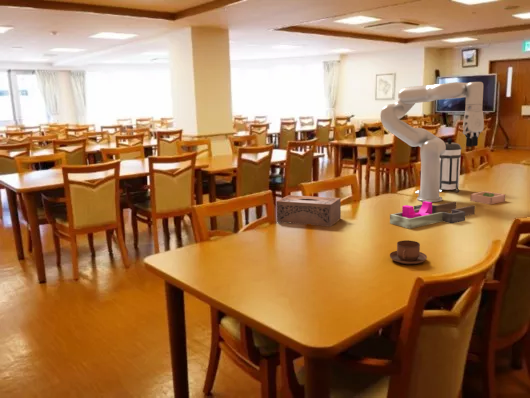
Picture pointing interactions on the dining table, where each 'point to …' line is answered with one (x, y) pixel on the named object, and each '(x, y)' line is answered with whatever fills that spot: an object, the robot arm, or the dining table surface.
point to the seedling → (488, 194)
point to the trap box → (434, 215)
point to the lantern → (450, 167)
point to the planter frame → (487, 198)
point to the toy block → (424, 210)
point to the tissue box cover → (309, 210)
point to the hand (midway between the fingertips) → (471, 145)
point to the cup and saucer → (408, 253)
